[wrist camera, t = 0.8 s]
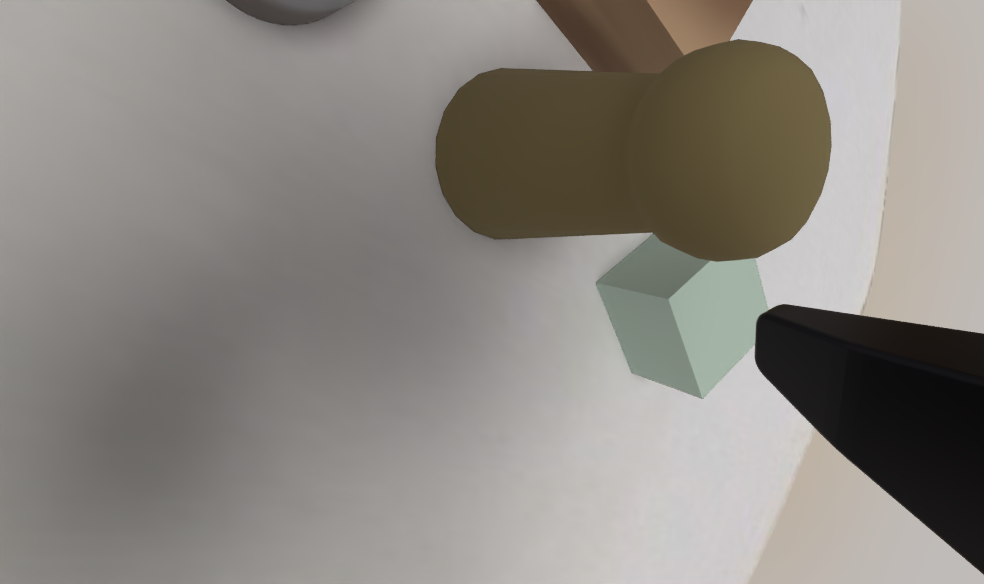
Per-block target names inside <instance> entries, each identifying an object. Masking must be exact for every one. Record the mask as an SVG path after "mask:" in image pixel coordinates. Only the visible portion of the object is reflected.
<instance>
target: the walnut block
mask: <svg viewBox="0 0 984 584" xmlns="http://www.w3.org/2000/svg"><path fill="white" fill-rule="evenodd" d="M752 1H753V0H537V2H538V3H539V4H540V5H541V7H542V8H543V9H544V10H545V12H546V13H547V14H548V15H549V17H550V18H551V19H552V20H553V22H554V23H555V24H556V25H557V27H558V28H559V29H560V30H561V32H562V33H563V34H564V35H565V37H566V38H567V39H568V40H569V42H570V43H571V44H572V45H573V47H574V48H575V49H576V50H577V52H578V53H579V54H580V55H581V57H582V58H583V59H584V60H585V61H586V63H587V64H588V65H589V66H590V68H591V69H592V70H593V71H595V72H625V73H655V74H660V73H661V72H662V71H663V70H665V69H666V68H667V67H668V66H669V65H670V64H672V63H673V62H674V61H675V60H677V59H679V58H681V57H683V56H684V55H686V54H688V53H690V52H692V51H694V50H697V49H701V48H704V47H707V46H711V45H714V44H718V43H723V42H728V41H730V39H731V37H732V35H733V34H734V32H735V30H736V28H737V27H738V25H739V23H740V22H741V20H742V18H743V16H744V15H745V13H746V11H747V9H748V8H749V6H750V4H751V2H752Z"/></svg>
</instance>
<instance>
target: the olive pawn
mask: <svg viewBox="0 0 984 584" xmlns="http://www.w3.org/2000/svg"><path fill="white" fill-rule="evenodd" d="M830 153H831V123H830V117H829V113H828V109H827V105H826V101H825V97H824V93H823V90H822V88H821V86H820V84H819V82H818V81H817V79H816V77H815V75H814V73H813V71H812V70H811V69H810V68H809V67H808V66H807V65H806V64H805V63H804V62H803V61H801V60H800V59H799V58H798V57H797V56H795V55H794V54H792V53H790V52H788V51H787V50H785V49H783V48H781V47H779V46H775V45H771V44H766V43H762V42H756V41H748V40H740V39H738V40H733V41H728V42H723V43H718V44H714V45H711V46H707V47H704V48H701V49H697V50H694V51H692V52H690V53H688V54H686V55H684V56H683V57H681V58H679V59H677V60H675V61H674V62H673V63H672V64H670V65H669V66H668V67H667V68H666V69H665V70H663V71H662V72H661V73H660V74H655V73H625V72H595V71H566V70H536V69H506V68H500V69H496V70H493V71H489V72H485V73H481V74H478V75H477V76H476V77H474V78H473V79H472V80H470V81H469V82H468V83H466V84H465V85H464V86H462V87H461V88H460V89H459V90H458V91H457V93H456V94H455V96H454V97H453V99H452V100H451V102H450V103H449V105H448V106H447V108H446V109H445V111H444V114H443V117H442V121H441V124H440V127H439V131H438V134H437V137H436V170H437V173H438V177H439V181H440V185H441V189H442V193H443V195H444V197H445V198H446V200H447V202H448V203H449V205H450V207H451V208H452V210H453V212H454V213H455V215H456V216H457V217H458V218H459V219H460V220H461V221H462V222H464V223H465V224H466V225H467V226H468V227H469V228H470V229H472V230H473V231H474V232H476V233H479V234H482V235H484V236H487V237H490V238H493V239H519V238H541V237H563V236H585V235H607V234H629V233H651V232H653V233H654V234H655V236H656V237H657V238H658V239H659V240H660V241H661V242H663V243H665V244H667V245H669V246H671V247H673V248H675V249H677V250H680V251H682V252H684V253H686V254H688V255H691V256H693V257H695V258H698V259H704V260H709V261H715V262H721V261H734V260H744V259H752V258H758V257H760V256H762V255H764V254H766V253H768V252H770V251H772V250H774V249H776V248H777V247H779V246H781V245H782V244H784V243H786V242H788V241H789V240H791V239H792V238H793V237H794V236H795V235H796V234H797V233H798V231H799V230H800V229H801V228H802V227H803V226H804V225H805V223H806V222H807V220H808V219H809V217H810V215H811V213H812V211H813V209H814V207H815V205H816V203H817V201H818V199H819V197H820V195H821V193H822V190H823V186H824V183H825V180H826V176H827V173H828V169H829V161H830Z"/></svg>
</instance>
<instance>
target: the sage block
mask: <svg viewBox="0 0 984 584" xmlns="http://www.w3.org/2000/svg"><path fill="white" fill-rule="evenodd" d="M596 285H597V288H598V290H599V292H600V295H601V297H602V300H603V302H604V305H605V307H606V310H607V312H608V315H609V317H610V320H611V322H612V325H613V327H614V330H615V332H616V335H617V337H618V340H619V342H620V345H621V347H622V350H623V352H624V355H625V357H626V360H627V362H628V365H629V367H630V370H631V372H632V373H634V374H636V375H639V376H642V377H644V378H647V379H650V380H652V381H655V382H658V383H661V384H663V385H666V386H669V387H671V388H674V389H677V390H680V391H682V392H685V393H688V394H690V395H693V396H696V397H698V398H701V399H703V398H704V397H705V396H706V395H707V394H708V393H709V392H710V391H711V390H712V389H713V388H714V387H715V386H716V385H717V383H718V382H719V381H720V380H721V379H722V378H723V377H724V376H725V375H726V374H727V373H728V372H729V371H730V370H731V369H732V368H733V367H734V366H735V365H736V364H737V363H738V361H739V360H740V359H741V358H742V357H743V356H744V355H745V354H746V353H747V352H748V351H749V350H750V349H751V348H752V347H753V346H754V345H755V333H756V321H757V319H758V317H759V316H760V315H761V314H762V313H764V312H766V311H768V306H767V302H766V298H765V295H764V291H763V287H762V283H761V279H760V275H759V272H758V268H757V264H756V260H755V258H752V259H744V260H734V261H721V262H715V261H709V260H704V259H698V258H695V257H693V256H691V255H688V254H686V253H684V252H682V251H680V250H677V249H675V248H673V247H671V246H669V245H667V244H665V243H663V242H661V241H660V240H659V239H658V238H657V237H656V236H655V234H653V235H651V236H650V237H649V238H648V239H647V240H646V241H644V242H643V243H642V244H641V245H640V246H638V247H637V248H636V249H635V250H634V251H633V252H631V253H630V254H629V255H628V256H627V257H625V258H624V259H623V260H622V261H621V262H619V263H618V264H617V265H616V266H615V267H614V268H612V269H611V270H610V271H609V272H608V273H606V274H605V275H604V276H603V277H602V278H600V279H599V280H598V281H597V282H596Z"/></svg>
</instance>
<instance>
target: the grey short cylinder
mask: <svg viewBox="0 0 984 584" xmlns="http://www.w3.org/2000/svg"><path fill="white" fill-rule="evenodd" d="M226 1H228V2H229V3H231V4H232V5H233V6H235V7H236V8H238V9H239V10H241V11H243V12H245V13H246V14H248V15H251V16H253V17H255V18H257V19H260V20H263V21H266V22H270V23H275V24H281V25H300V24H307V23H310V22H314V21H317V20H319V19H321V18H324V17H326V16H328V15H329V14H331V13H333V12H335V11H337V10H339V9H341V8H343V7H345V6H346V5H348V4H350V3H352V2H354V1H356V0H226Z"/></svg>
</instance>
